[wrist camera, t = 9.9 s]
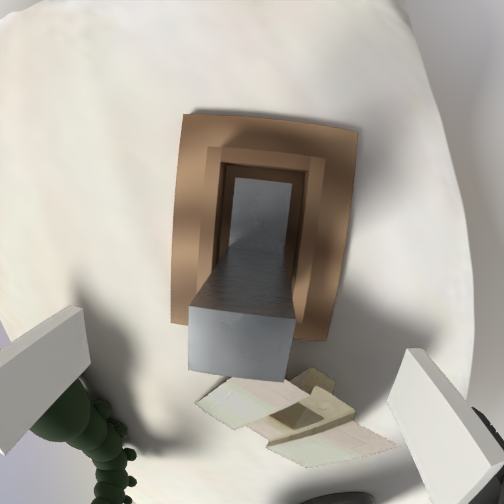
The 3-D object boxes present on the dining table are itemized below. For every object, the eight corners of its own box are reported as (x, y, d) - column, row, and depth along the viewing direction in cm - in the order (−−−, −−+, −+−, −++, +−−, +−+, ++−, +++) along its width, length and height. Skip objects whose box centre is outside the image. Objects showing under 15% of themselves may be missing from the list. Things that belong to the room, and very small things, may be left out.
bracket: (277, 283, 24) (283, 382, 11) (229, 277, 24) (188, 370, 11) (290, 184, 22) (316, 180, 9) (238, 178, 22) (197, 168, 10)
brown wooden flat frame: (324, 335, 26) (331, 359, 22) (173, 318, 26) (159, 338, 22) (354, 134, 22) (369, 124, 18) (186, 116, 22) (171, 105, 18)
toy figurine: (164, 452, 34) (70, 309, 26) (133, 558, 16) (-41, 425, 8) (115, 449, 35) (25, 319, 28) (78, 539, 17) (-67, 406, 10)
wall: (338, 414, 33) (424, 399, 21) (308, 470, 28) (391, 486, 15) (235, 347, 34) (285, 301, 22) (193, 404, 29) (219, 397, 17)
